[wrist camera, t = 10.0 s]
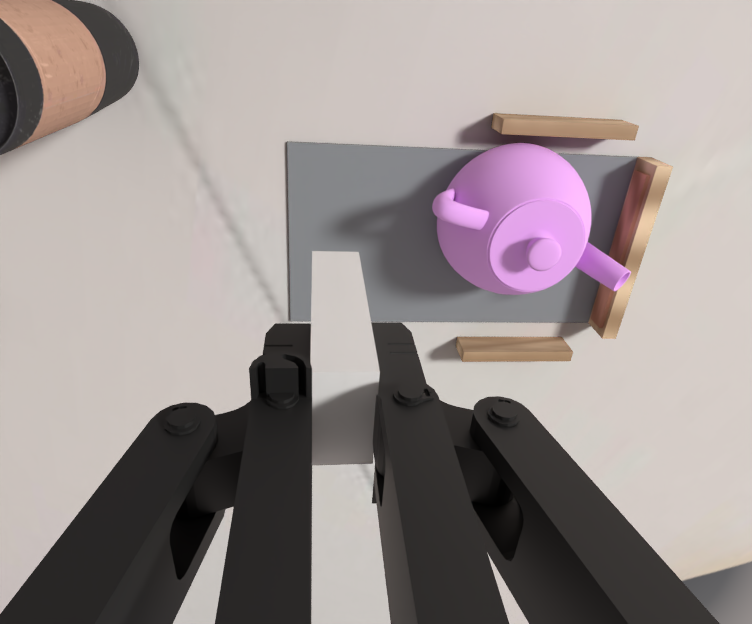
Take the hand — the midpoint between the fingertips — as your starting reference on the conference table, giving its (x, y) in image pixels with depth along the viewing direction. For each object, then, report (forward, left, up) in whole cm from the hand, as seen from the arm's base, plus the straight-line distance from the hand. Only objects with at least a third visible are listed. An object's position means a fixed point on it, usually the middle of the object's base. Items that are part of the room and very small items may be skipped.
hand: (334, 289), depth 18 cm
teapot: (+8, +18, -32) cm, 38 cm away
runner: (+11, +14, -32) cm, 37 cm away
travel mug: (-4, -18, -32) cm, 37 cm away
